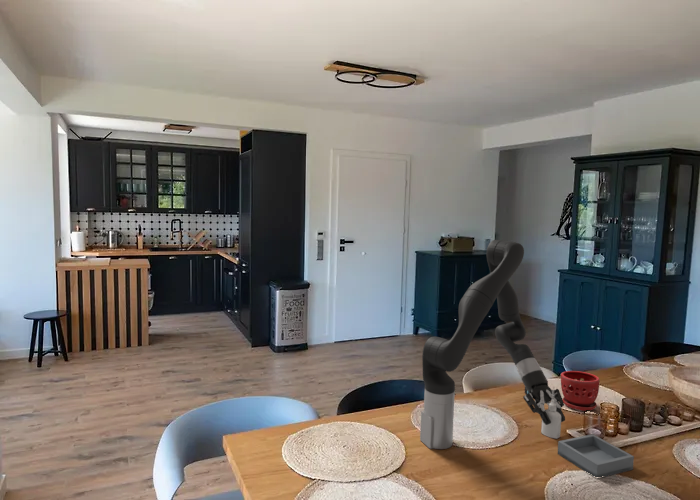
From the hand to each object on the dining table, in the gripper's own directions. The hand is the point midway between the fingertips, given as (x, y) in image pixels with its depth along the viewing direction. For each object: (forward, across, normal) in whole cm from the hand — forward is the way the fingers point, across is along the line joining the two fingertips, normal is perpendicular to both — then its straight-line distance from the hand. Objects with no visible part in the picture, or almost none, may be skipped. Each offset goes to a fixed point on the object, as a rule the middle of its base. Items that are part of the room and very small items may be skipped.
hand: (555, 422), depth 153 cm
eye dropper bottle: (+3, 0, +5) cm, 6 cm away
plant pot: (-8, +28, +16) cm, 33 cm away
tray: (+14, 0, -7) cm, 16 cm away
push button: (-19, +20, +26) cm, 38 cm away
